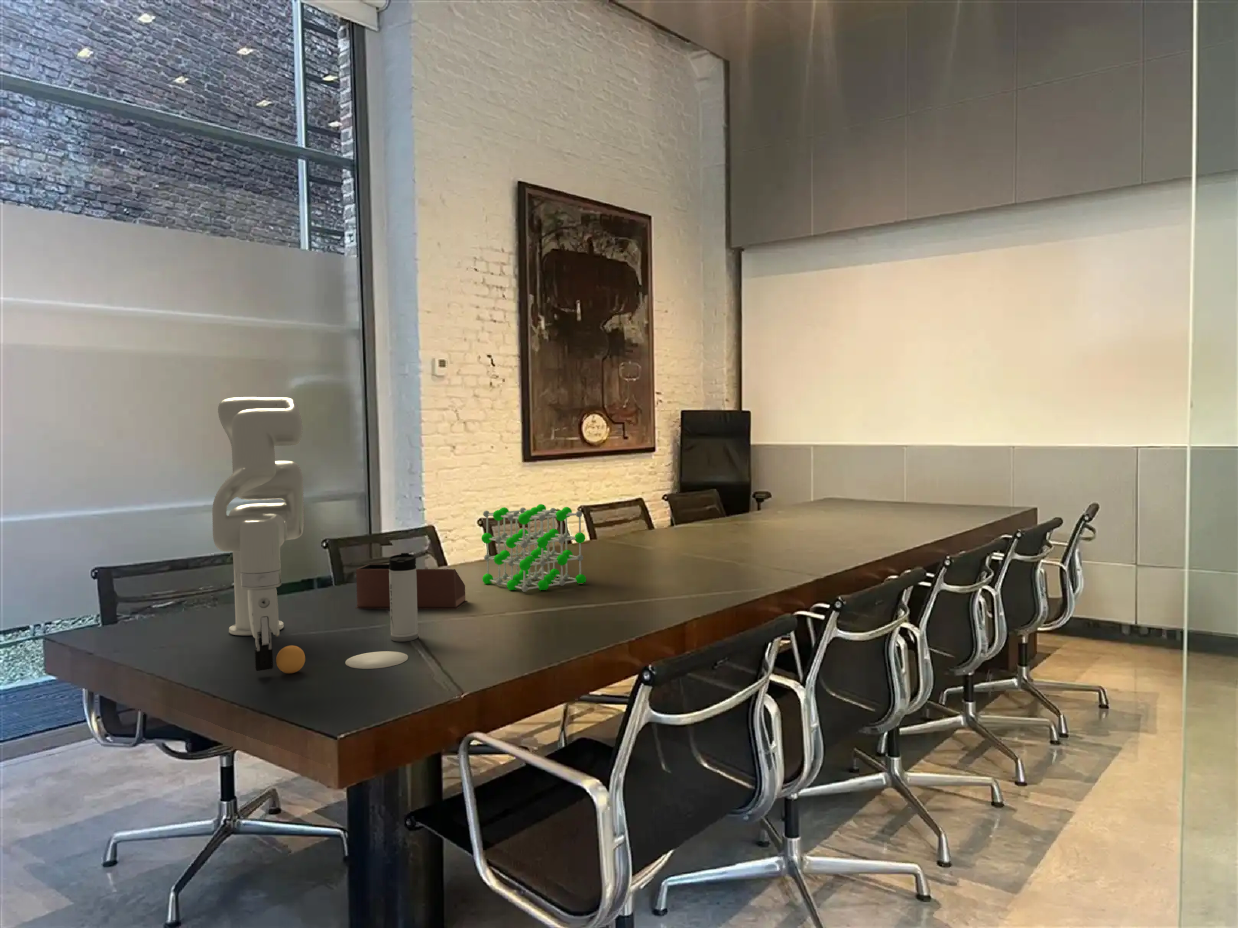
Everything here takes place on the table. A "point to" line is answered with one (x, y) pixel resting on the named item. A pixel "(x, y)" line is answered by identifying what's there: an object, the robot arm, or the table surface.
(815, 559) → the table surface
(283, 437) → the robot arm
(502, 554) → the molecular structure model
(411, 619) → the travel mug
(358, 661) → the disc
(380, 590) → the desk organizer
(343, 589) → the table surface
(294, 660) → the ball
